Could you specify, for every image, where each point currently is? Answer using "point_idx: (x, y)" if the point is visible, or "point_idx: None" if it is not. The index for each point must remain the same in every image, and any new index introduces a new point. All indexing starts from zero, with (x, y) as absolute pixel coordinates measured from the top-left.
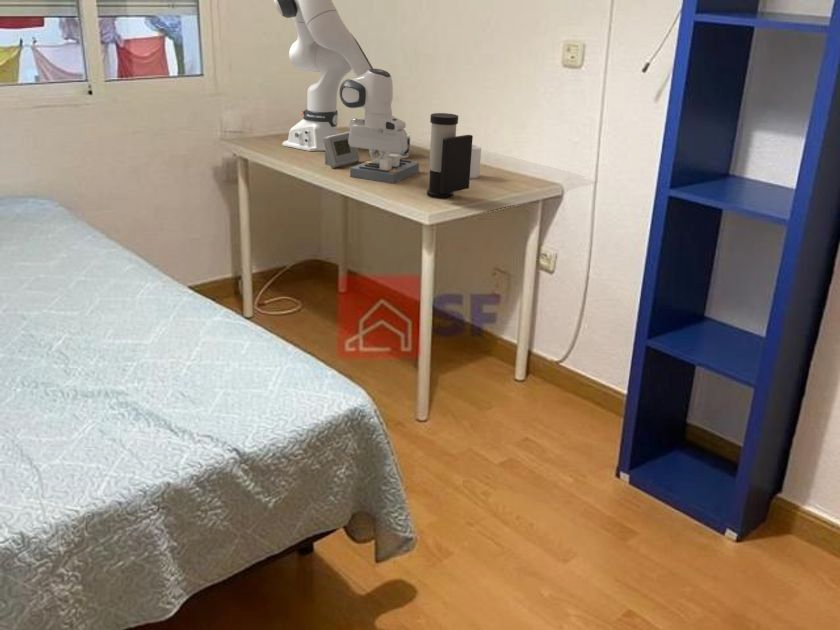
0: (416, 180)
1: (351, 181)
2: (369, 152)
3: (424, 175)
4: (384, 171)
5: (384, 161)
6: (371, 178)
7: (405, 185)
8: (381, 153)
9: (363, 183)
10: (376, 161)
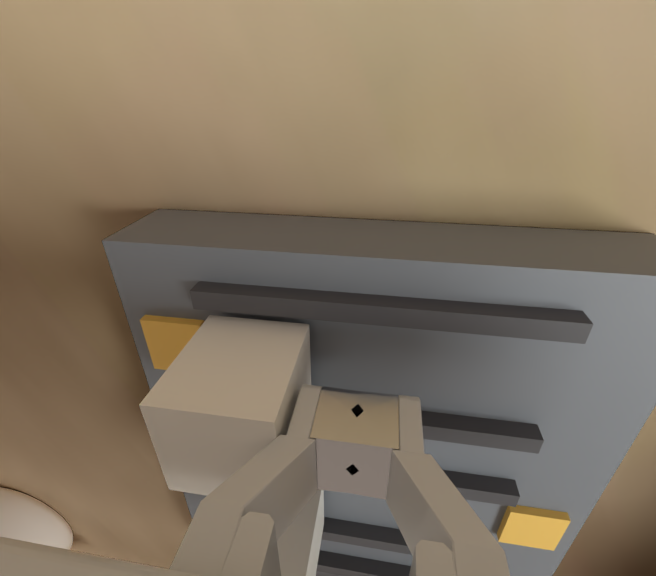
0: (111, 373)
1: (592, 18)
2: (494, 552)
3: (161, 479)
4: (229, 286)
5: (204, 392)
6: (382, 226)
7: (50, 202)
8: (219, 521)
9: (404, 14)
10: (347, 407)
